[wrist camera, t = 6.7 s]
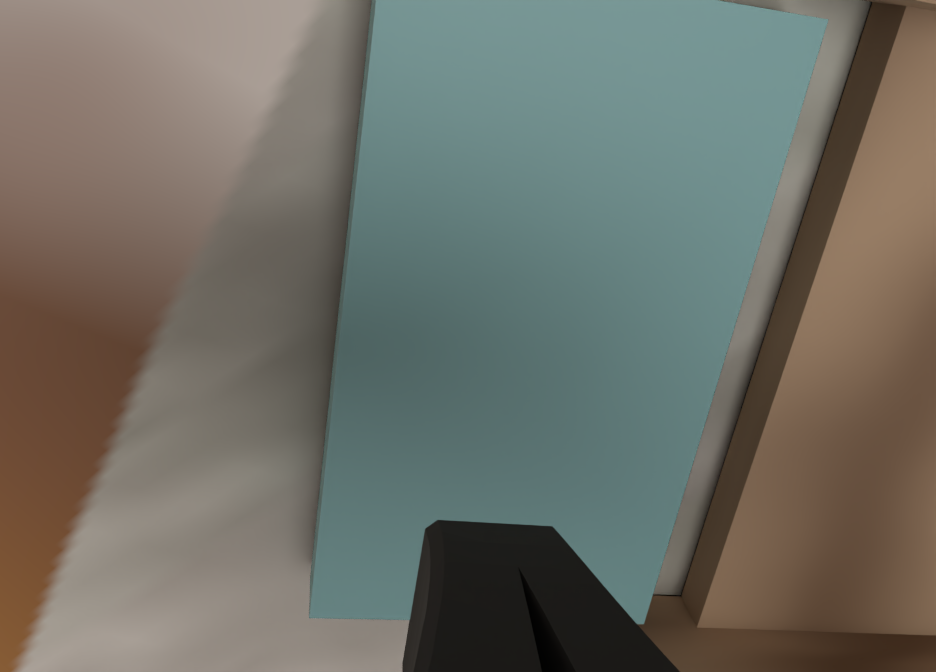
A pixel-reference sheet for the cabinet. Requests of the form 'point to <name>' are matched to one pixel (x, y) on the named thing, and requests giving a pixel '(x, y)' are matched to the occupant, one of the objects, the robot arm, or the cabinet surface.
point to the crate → (837, 408)
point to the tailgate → (544, 274)
